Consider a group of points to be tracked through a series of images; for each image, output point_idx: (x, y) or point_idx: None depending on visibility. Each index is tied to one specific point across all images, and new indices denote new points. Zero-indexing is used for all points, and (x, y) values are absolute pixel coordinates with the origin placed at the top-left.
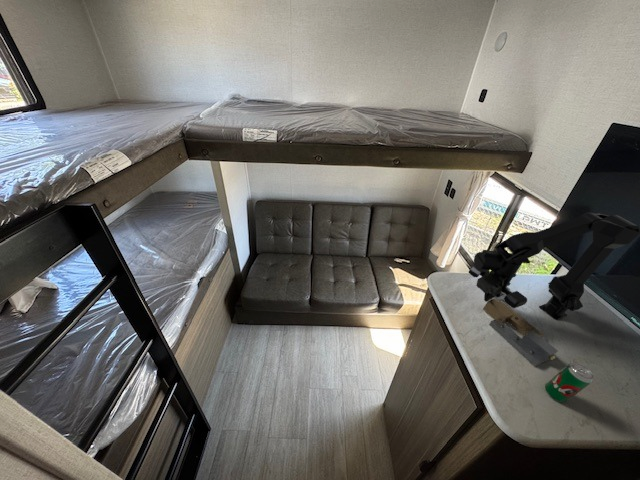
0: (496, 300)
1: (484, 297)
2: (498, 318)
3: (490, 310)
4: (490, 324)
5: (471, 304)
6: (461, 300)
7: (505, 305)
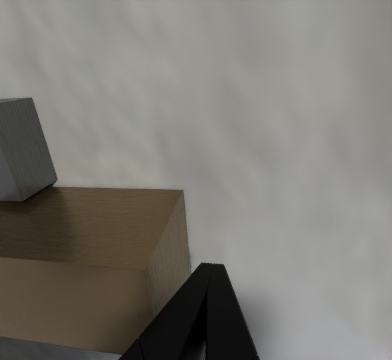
0: None
1: (231, 290)
2: (18, 199)
3: (107, 212)
4: (11, 99)
5: (267, 137)
6: (368, 67)
7: None
